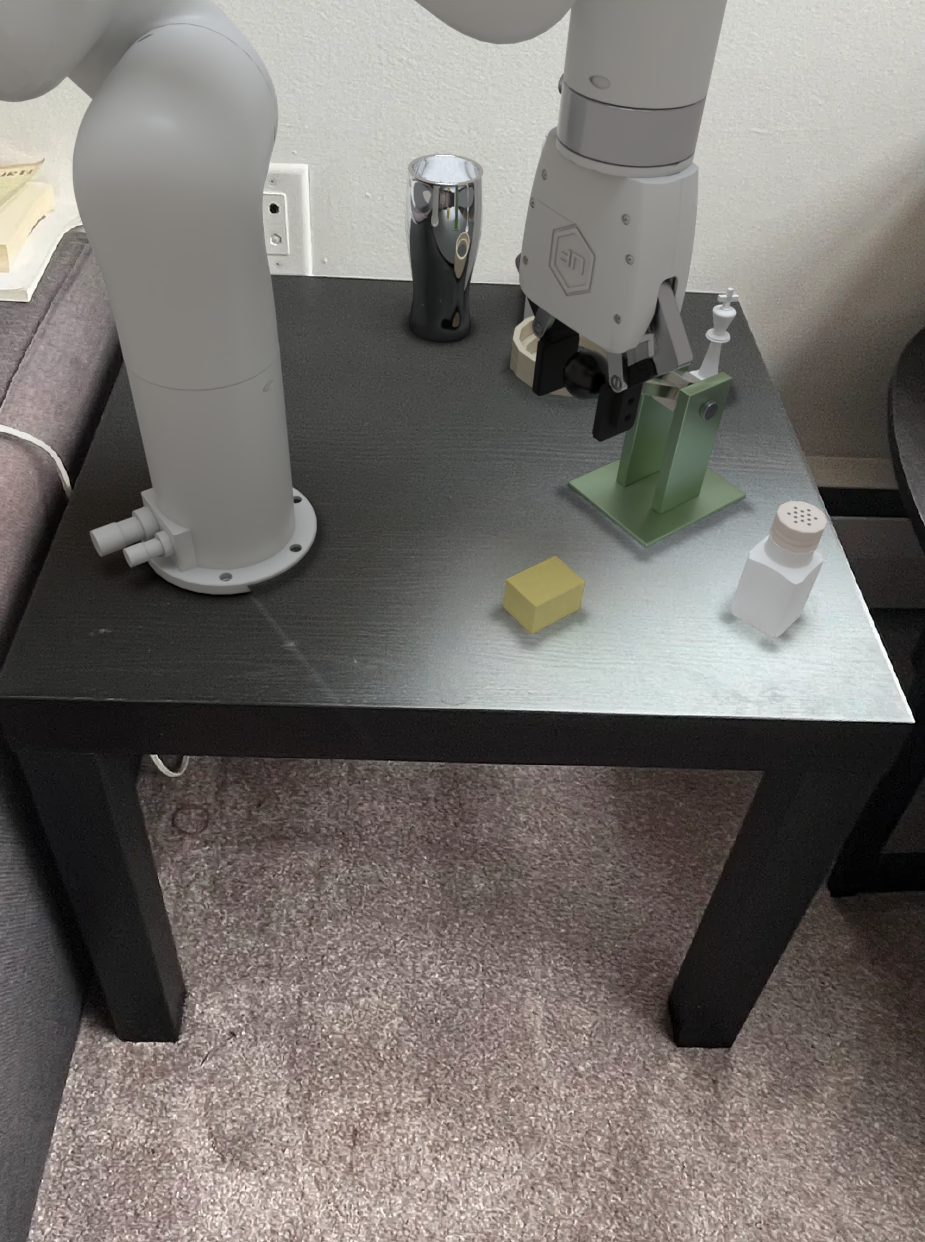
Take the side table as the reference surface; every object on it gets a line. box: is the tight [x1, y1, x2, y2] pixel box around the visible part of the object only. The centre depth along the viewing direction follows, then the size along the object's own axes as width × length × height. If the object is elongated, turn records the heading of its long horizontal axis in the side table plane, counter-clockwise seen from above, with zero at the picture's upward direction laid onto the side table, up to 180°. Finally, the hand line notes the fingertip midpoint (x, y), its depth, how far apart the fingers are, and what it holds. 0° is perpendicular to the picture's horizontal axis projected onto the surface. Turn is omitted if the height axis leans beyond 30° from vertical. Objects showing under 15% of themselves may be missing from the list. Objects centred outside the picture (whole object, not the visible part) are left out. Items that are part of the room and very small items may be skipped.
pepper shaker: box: [728, 500, 828, 639], centre depth 66 cm, size 4×4×10 cm
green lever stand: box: [567, 365, 747, 549], centre depth 74 cm, size 11×9×12 cm
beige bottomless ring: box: [509, 316, 608, 398], centre depth 89 cm, size 10×10×4 cm
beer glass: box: [404, 153, 484, 343], centre depth 90 cm, size 7×7×15 cm
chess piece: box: [688, 287, 740, 380], centre depth 86 cm, size 5×5×10 cm
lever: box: [563, 349, 701, 412], centre depth 67 cm, size 14×3×3 cm, turn 126°
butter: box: [502, 555, 586, 635], centre depth 67 cm, size 4×3×4 cm
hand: (581, 408), depth 65 cm, fingers open, 5 cm apart
